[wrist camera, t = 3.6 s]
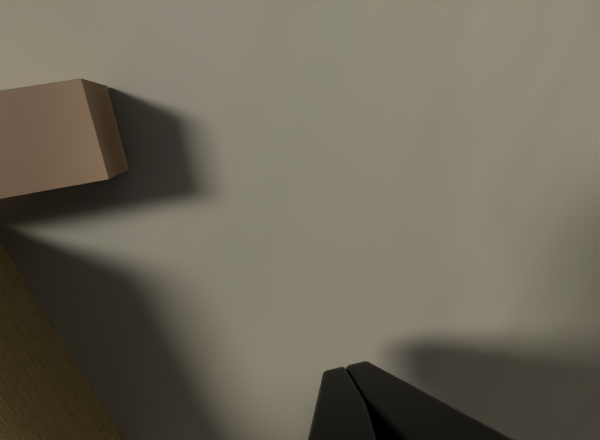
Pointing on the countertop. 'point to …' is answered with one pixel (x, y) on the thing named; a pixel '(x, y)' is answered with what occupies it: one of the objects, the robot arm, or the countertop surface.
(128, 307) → the countertop surface
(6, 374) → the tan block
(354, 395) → the robot arm
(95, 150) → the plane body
